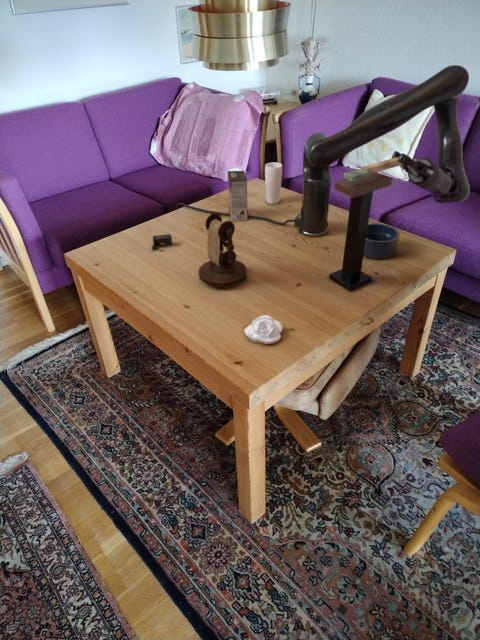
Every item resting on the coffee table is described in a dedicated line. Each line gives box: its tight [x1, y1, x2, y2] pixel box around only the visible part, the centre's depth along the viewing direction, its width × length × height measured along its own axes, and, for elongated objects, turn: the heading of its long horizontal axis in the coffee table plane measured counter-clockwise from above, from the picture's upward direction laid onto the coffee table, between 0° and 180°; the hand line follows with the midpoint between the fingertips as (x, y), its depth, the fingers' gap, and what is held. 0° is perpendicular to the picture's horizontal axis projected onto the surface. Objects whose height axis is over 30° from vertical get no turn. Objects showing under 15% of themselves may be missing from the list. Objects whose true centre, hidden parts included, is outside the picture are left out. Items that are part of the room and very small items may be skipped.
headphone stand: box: [328, 172, 393, 292], centre depth 134 cm, size 14×9×31 cm, turn 124°
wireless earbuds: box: [151, 233, 173, 251], centre depth 162 cm, size 5×7×3 cm, turn 101°
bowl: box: [363, 223, 400, 260], centre depth 156 cm, size 13×13×6 cm
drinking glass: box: [264, 162, 283, 205], centre depth 187 cm, size 7×7×15 cm
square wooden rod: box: [342, 155, 411, 181], centre depth 125 cm, size 22×3×2 cm, turn 124°
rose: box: [244, 315, 283, 345], centre depth 122 cm, size 10×4×10 cm
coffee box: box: [227, 170, 248, 222], centre depth 177 cm, size 9×6×16 cm
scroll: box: [198, 213, 248, 290], centre depth 140 cm, size 15×15×20 cm
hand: (397, 155), depth 127 cm, fingers closed on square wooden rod, 2 cm apart
